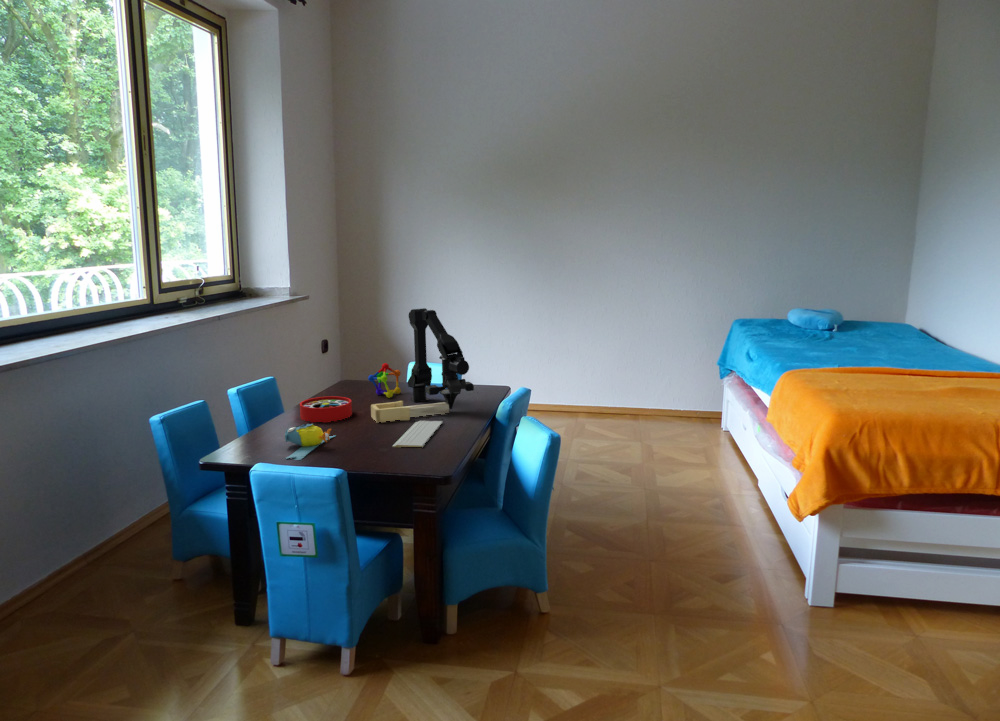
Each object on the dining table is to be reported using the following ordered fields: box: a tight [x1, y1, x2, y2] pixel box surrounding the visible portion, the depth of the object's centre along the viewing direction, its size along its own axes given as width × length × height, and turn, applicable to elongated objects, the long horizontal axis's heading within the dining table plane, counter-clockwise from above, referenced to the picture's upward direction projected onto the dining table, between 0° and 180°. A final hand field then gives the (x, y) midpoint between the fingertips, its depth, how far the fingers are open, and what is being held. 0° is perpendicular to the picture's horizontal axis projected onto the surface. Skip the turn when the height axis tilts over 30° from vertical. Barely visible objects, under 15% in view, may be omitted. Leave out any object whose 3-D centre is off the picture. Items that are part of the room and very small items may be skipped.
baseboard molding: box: [391, 416, 443, 448], centre depth 256 cm, size 31×3×12 cm
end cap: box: [370, 400, 411, 424], centre depth 278 cm, size 13×13×5 cm
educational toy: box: [367, 362, 402, 399], centre depth 315 cm, size 16×13×15 cm
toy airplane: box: [284, 423, 337, 461], centre depth 242 cm, size 28×9×15 cm
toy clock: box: [299, 395, 353, 423], centre depth 283 cm, size 20×6×20 cm
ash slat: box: [403, 401, 450, 418], centre depth 283 cm, size 5×22×4 cm, turn 112°
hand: (450, 408), depth 287 cm, fingers closed
